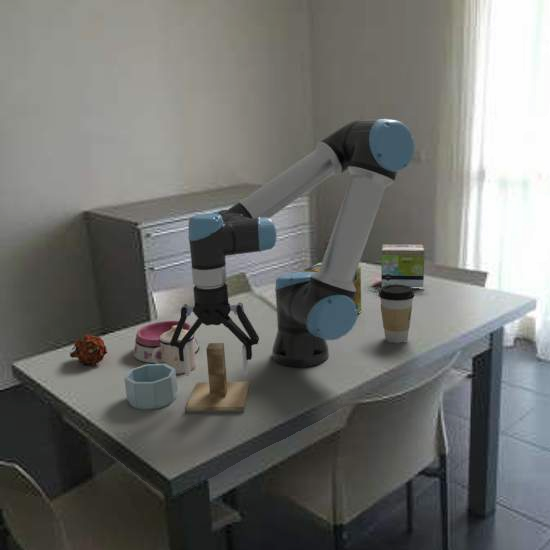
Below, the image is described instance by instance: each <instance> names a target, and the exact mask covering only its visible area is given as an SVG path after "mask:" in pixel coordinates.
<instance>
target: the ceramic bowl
mask: <svg viewBox="0 0 550 550" xmlns="http://www.w3.org/2000/svg"><path fill="white" fill-rule="evenodd" d="M124 385H125V394H126V400H127V401H128V402H129V403H128V404H129V405H130V406H131V407H132V408H134V409H137V410H157V409H161V408H163V407H166V406H167V407H168V405H171V404H172V403H174V401H175V400H176V399H177V392H178V382H177V374H176V370H175V368H173V367H171V366H169V365H167V364H147V363H145V364H142V365H140V366H138V367H135V368H134V367H133V368H132V369H131V368H130V369H129V370H128V372H127V373H126V375H125V376H124Z"/></svg>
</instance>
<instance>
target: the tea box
mask: <svg viewBox="0 0 550 550" xmlns="http://www.w3.org/2000/svg"><path fill="white" fill-rule="evenodd" d="M381 245H382V246H381V274H380V275H381V278H380V279H381V288H382V287H383V286H387V285H406V286H409V287H423V288H424V283H425V282H424V280H425V248H424V245H423V244H381Z"/></svg>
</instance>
